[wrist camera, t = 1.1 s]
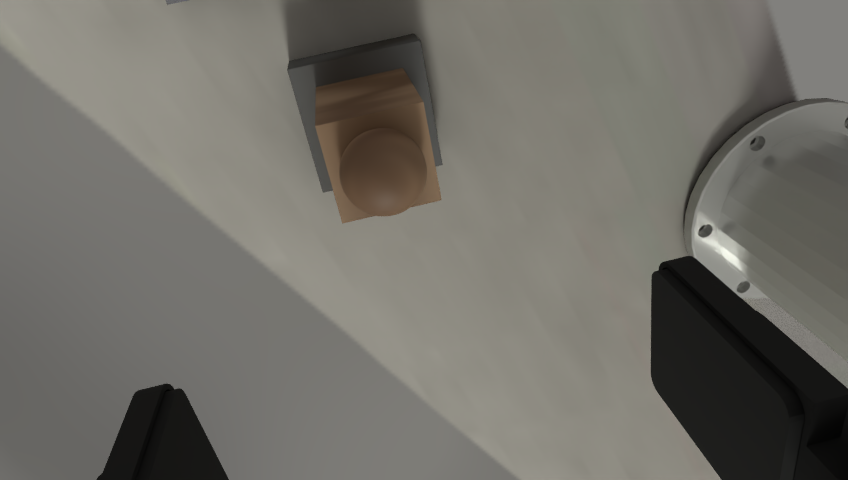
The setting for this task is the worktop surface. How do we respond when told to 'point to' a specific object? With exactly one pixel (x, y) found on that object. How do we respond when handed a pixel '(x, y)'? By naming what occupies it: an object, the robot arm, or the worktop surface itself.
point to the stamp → (370, 126)
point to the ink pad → (174, 1)
